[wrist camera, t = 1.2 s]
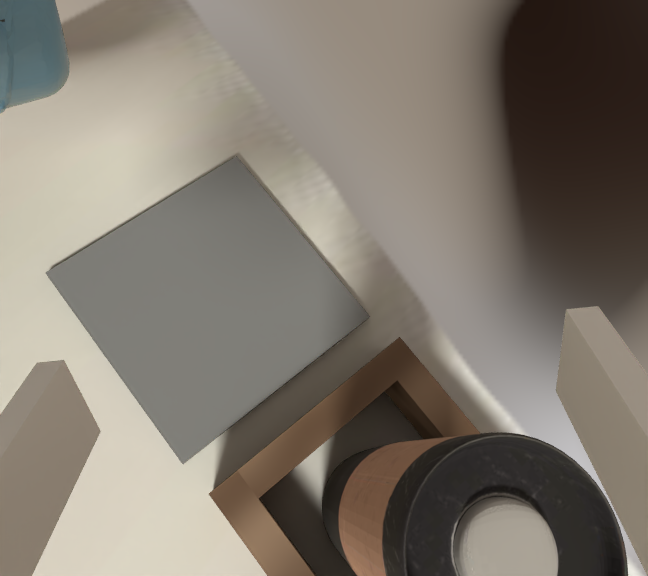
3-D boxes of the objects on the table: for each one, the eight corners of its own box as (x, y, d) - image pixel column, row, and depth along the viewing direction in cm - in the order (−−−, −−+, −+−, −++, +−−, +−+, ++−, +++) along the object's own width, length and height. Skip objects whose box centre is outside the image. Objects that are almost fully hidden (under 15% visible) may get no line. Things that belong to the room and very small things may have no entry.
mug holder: (213, 490, 34) (208, 494, 31) (384, 349, 39) (399, 337, 35) (362, 697, 32) (377, 729, 28) (527, 521, 36) (560, 528, 33)
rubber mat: (48, 275, 37) (45, 272, 37) (236, 160, 42) (236, 155, 41) (183, 463, 35) (182, 463, 34) (367, 318, 39) (369, 316, 39)
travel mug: (328, 436, 36) (414, 407, 18) (437, 458, 37) (633, 452, 18) (307, 559, 34) (380, 679, 15) (423, 581, 34) (634, 723, 16)
